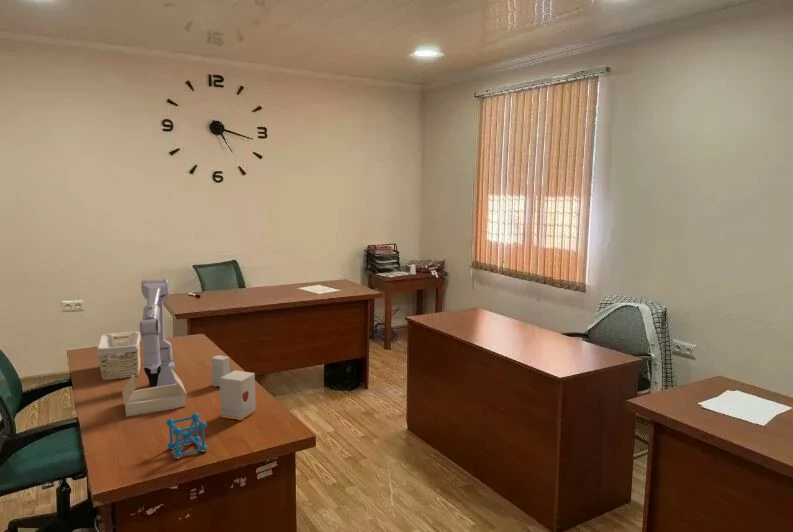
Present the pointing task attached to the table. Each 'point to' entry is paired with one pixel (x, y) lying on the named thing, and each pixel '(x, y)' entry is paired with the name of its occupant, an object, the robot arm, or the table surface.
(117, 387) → the table surface
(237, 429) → the table surface
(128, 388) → the carton flap
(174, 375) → the carton flap
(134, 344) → the storage basket
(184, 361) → the table surface
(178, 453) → the molecular structure
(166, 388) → the carton
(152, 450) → the table surface
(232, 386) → the supplement box
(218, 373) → the skincare box
